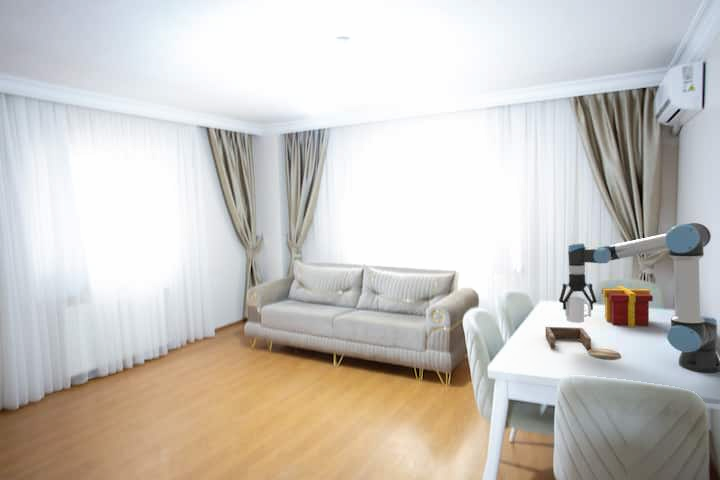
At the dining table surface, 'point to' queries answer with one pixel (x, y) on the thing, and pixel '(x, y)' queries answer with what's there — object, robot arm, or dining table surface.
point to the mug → (576, 309)
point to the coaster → (604, 353)
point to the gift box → (627, 306)
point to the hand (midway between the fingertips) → (578, 315)
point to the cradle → (567, 335)
